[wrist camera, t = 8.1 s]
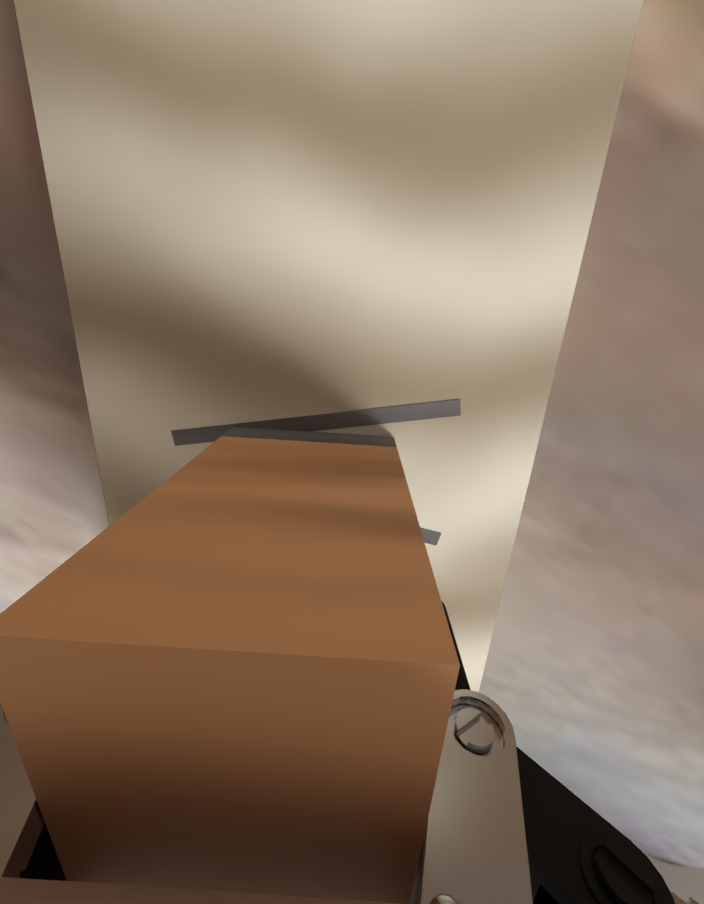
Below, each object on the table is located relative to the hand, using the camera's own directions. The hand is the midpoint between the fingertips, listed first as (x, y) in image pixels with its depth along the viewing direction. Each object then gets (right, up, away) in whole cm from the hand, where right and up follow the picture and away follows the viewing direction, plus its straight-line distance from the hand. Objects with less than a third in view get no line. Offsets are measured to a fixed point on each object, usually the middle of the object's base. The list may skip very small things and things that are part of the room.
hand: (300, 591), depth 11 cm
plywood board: (0, +7, +2) cm, 7 cm away
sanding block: (0, +1, +2) cm, 2 cm away
